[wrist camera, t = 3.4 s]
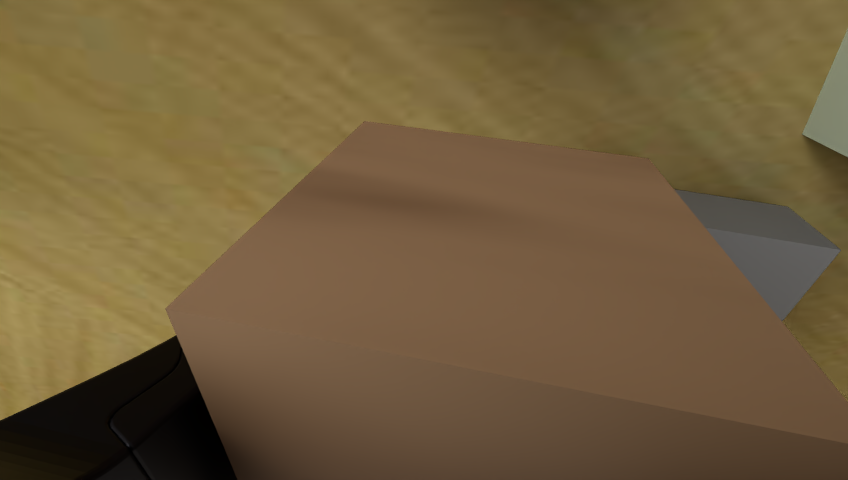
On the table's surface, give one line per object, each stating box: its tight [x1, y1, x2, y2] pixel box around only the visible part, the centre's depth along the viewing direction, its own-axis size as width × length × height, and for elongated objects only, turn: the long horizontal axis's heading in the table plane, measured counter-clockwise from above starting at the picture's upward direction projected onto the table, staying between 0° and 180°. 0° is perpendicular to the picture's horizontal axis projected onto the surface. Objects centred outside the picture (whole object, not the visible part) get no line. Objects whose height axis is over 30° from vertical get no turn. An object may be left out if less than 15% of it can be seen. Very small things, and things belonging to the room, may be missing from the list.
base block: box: [674, 189, 841, 321], centre depth 19 cm, size 9×9×4 cm
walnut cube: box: [165, 121, 848, 480], centre depth 7 cm, size 6×6×6 cm
